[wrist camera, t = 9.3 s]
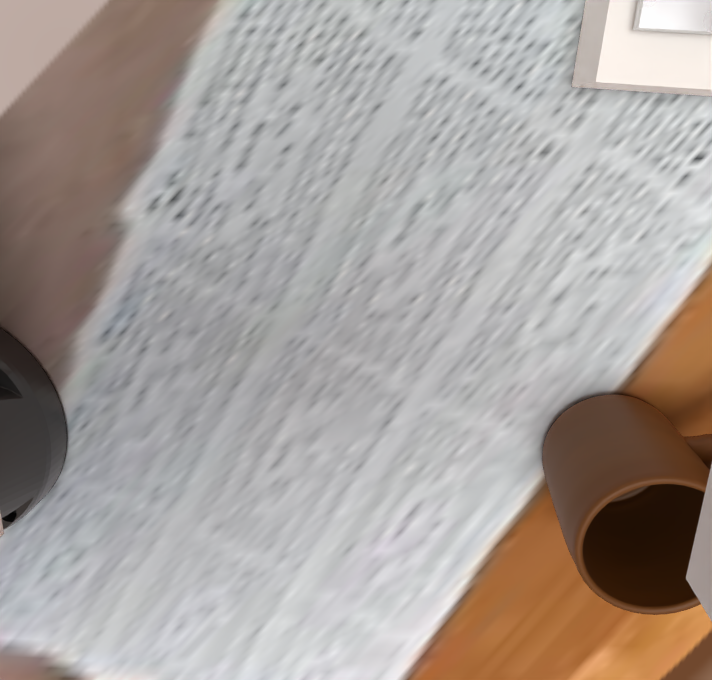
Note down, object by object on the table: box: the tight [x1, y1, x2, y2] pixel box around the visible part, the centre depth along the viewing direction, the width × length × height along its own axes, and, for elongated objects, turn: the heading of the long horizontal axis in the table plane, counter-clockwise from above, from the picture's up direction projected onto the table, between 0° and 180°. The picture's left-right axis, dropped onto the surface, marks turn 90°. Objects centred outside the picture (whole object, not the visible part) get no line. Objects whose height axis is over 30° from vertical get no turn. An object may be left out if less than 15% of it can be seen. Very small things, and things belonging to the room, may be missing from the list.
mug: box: [542, 395, 712, 615], centre depth 33 cm, size 12×8×9 cm, turn 125°
